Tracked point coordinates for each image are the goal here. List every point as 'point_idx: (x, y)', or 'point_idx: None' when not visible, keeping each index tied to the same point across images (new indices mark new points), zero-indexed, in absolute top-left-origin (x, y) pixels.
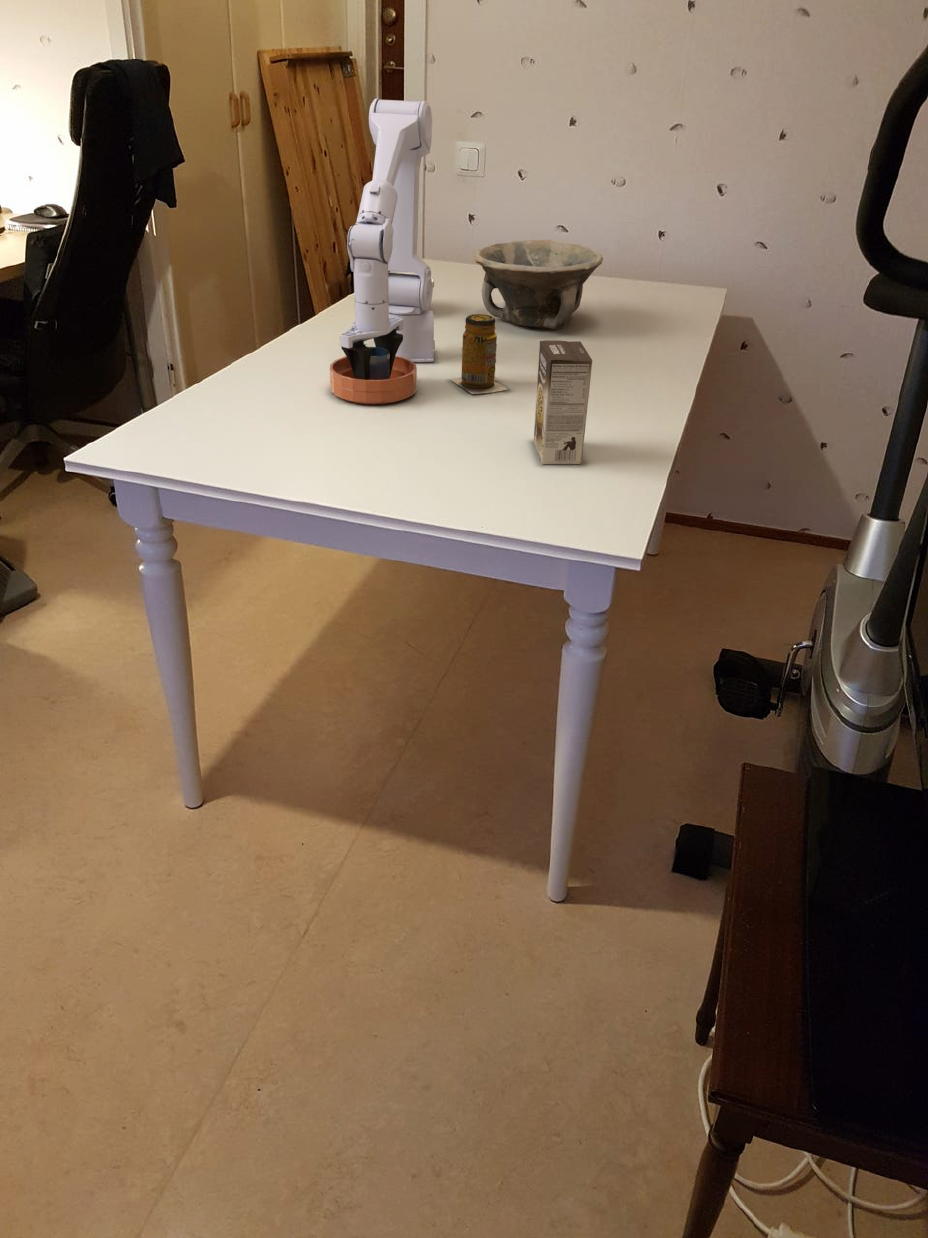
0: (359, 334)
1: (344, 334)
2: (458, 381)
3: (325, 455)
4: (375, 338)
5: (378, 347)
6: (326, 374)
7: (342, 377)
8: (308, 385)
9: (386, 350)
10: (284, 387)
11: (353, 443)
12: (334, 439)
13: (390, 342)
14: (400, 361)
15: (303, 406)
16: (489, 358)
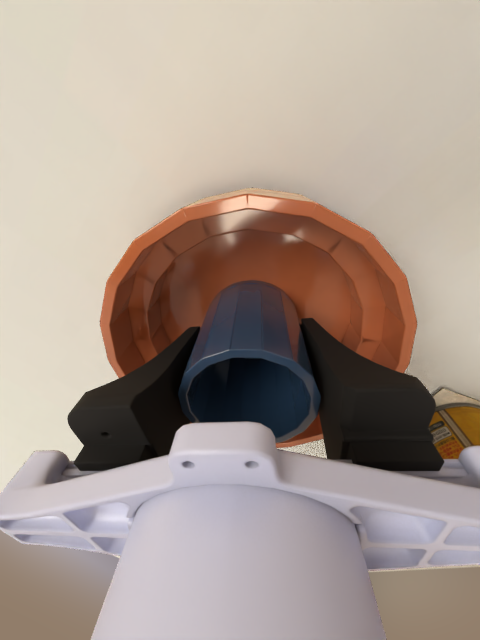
0: (92, 550)
1: (23, 510)
2: (440, 400)
3: (17, 436)
4: (336, 393)
5: (311, 387)
6: (261, 32)
7: (110, 362)
8: (121, 116)
9: (302, 421)
10: (22, 55)
11: (71, 436)
12: (48, 415)
13: (329, 453)
14: (391, 351)
15: (39, 272)
16: None
